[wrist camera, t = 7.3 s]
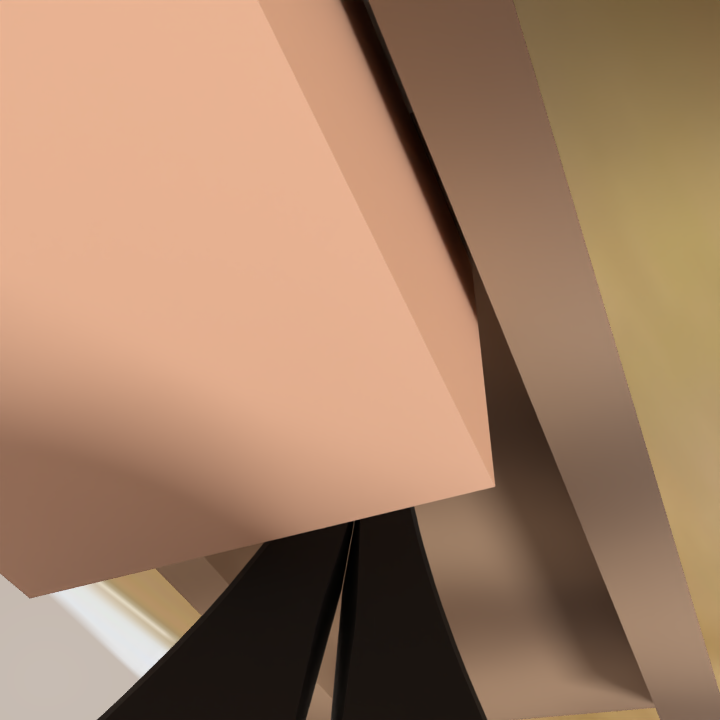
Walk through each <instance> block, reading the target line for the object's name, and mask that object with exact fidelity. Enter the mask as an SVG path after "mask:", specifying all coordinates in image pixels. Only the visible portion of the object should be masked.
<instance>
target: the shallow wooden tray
mask: <svg viewBox="0 0 720 720" xmlns="http://www.w3.org/2000/svg"><path fill="white" fill-rule="evenodd" d="M363 2H364V4H365V7H366V9H367V12H368V14H369V17H370V19H371V21H372V24H373V26H374V29H375V31H376V34H377V36H378V38H379V41H380V43H381V46H382V48H383V51H384V53H385V56H386V58H387V60H388V63H389V65H390V68H391V70H392V73H393V75H394V78H395V80H396V82H397V85H398V87H399V90H400V92H401V95H402V97H403V99H404V102H405V104H406V107H407V109H408V112H409V114H410V117H411V119H412V121H413V124H414V126H415V129H416V131H417V134H418V136H419V138H420V141H421V143H422V146H423V148H424V151H425V153H426V156H427V158H428V160H429V163H430V165H431V168H432V170H433V173H434V175H435V177H436V180H437V182H438V185H439V187H440V190H441V192H442V195H443V197H444V199H445V202H446V204H447V207H448V209H449V212H450V214H451V217H452V219H453V221H454V224H455V226H456V229H457V231H458V234H459V236H460V238H461V241H462V243H463V246H464V248H465V251H466V253H467V256H468V258H469V260H470V263H471V265H472V273H473V282H474V292H475V301H476V310H477V320H478V329H479V339H480V348H481V357H482V367H483V376H484V386H485V395H486V404H487V414H488V423H489V432H490V442H491V451H492V461H493V470H494V479H495V487H492V488H488V489H484V490H479V491H475V492H471V493H467V494H463V495H459V496H454V497H450V498H446V499H442V500H438V501H434V502H429V503H425V504H421V505H417V506H414V507H415V512H416V516H417V520H418V525H419V529H420V533H421V537H422V541H423V544H424V548H425V551H426V555H427V558H428V561H429V565H430V568H431V571H432V575H433V578H434V582H435V585H436V588H437V591H438V594H439V597H440V600H441V603H442V606H443V609H444V612H445V614H446V617H447V620H448V623H449V625H450V628H451V631H452V634H453V637H454V639H455V642H456V645H457V647H458V650H459V652H460V655H461V658H462V660H463V663H464V665H465V668H466V670H467V673H468V675H469V678H470V680H471V682H472V685H473V687H474V689H475V692H476V694H477V696H478V699H479V701H480V703H481V706H482V708H483V710H484V713H485V715H486V717H487V720H519V719H530V718H542V717H553V716H564V715H576V714H587V713H599V712H610V711H622V710H633V709H644V708H656V710H657V713H658V715H659V718H660V720H720V693H719V689H718V686H717V683H716V679H715V676H714V673H713V669H712V666H711V662H710V659H709V656H708V652H707V649H706V646H705V642H704V639H703V636H702V632H701V629H700V626H699V622H698V619H697V616H696V612H695V609H694V606H693V602H692V599H691V595H690V592H689V589H688V585H687V582H686V579H685V575H684V572H683V569H682V565H681V562H680V559H679V555H678V552H677V549H676V545H675V542H674V538H673V535H672V532H671V528H670V525H669V522H668V518H667V515H666V512H665V508H664V505H663V502H662V498H661V495H660V492H659V488H658V485H657V482H656V478H655V475H654V471H653V468H652V465H651V461H650V458H649V455H648V451H647V448H646V445H645V441H644V438H643V435H642V431H641V428H640V425H639V421H638V418H637V414H636V411H635V408H634V404H633V401H632V398H631V394H630V391H629V388H628V384H627V381H626V378H625V374H624V371H623V368H622V364H621V361H620V358H619V354H618V351H617V347H616V344H615V341H614V337H613V334H612V331H611V327H610V324H609V321H608V317H607V314H606V311H605V307H604V304H603V301H602V297H601V294H600V291H599V287H598V284H597V280H596V277H595V274H594V270H593V267H592V264H591V260H590V257H589V254H588V250H587V247H586V244H585V240H584V237H583V234H582V230H581V227H580V223H579V220H578V217H577V213H576V210H575V207H574V203H573V200H572V197H571V193H570V190H569V187H568V183H567V180H566V177H565V173H564V170H563V167H562V163H561V160H560V156H559V153H558V150H557V146H556V143H555V140H554V136H553V133H552V130H551V126H550V123H549V120H548V116H547V113H546V110H545V106H544V103H543V99H542V96H541V93H540V89H539V86H538V83H537V79H536V76H535V73H534V69H533V66H532V63H531V59H530V56H529V53H528V49H527V46H526V43H525V39H524V36H523V32H522V29H521V26H520V22H519V19H518V16H517V12H516V9H515V6H514V2H513V0H363ZM354 521H355V520H354ZM353 527H354V526H353ZM352 532H353V531H352ZM351 538H352V537H351ZM263 543H264V542H263ZM263 543H259V544H254V545H250V546H246V547H242V548H238V549H234V550H229V551H225V552H221V553H217V554H213V555H209V556H204V557H200V558H196V559H192V560H188V561H184V562H179V563H175V564H171V565H167V566H163V567H159V568H156V569H157V570H158V572H159V573H160V574H161V575H162V576H163V577H164V578H165V579H166V580H167V581H168V582H169V583H170V584H171V585H172V586H173V587H174V588H175V589H176V590H177V591H178V592H179V593H180V594H181V595H182V596H183V597H184V598H185V599H186V600H187V601H188V602H189V603H190V604H191V605H192V606H193V607H194V608H195V609H196V610H197V611H198V612H199V613H200V614H201V615H203V614H204V613H205V612H206V611H207V610H208V609H209V607H210V606H211V605H212V604H213V603H214V602H215V601H216V600H217V598H218V597H219V596H220V595H221V594H222V593H223V592H224V591H225V589H226V588H227V587H228V586H229V585H230V583H231V582H232V581H233V580H234V579H235V577H236V576H237V575H238V574H239V573H240V571H241V570H242V569H243V568H244V566H245V565H246V564H247V563H248V562H249V560H250V559H251V558H252V557H253V555H254V554H255V553H256V552H257V551H258V549H259V548H260V547H261V546H262V544H263ZM350 544H351V542H350ZM349 549H350V548H349ZM348 555H349V553H348ZM347 560H348V559H347ZM346 566H347V564H346ZM345 571H346V570H345ZM344 577H345V575H344ZM343 582H344V581H343ZM342 588H343V586H342ZM341 599H342V591H341V594H340V598H339V602H338V605H337V609H336V613H335V616H334V620H333V624H332V627H331V631H330V634H329V638H328V642H327V645H326V649H325V653H324V656H323V660H322V664H321V667H320V671H319V674H318V678H317V682H316V685H315V689H314V693H313V696H312V700H311V704H310V707H309V711H308V714H307V718H306V720H331V711H332V700H333V688H334V677H335V666H336V655H337V643H338V632H339V621H340V610H341Z"/></svg>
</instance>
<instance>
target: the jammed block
mask: <svg viewBox="0 0 720 720" xmlns="http://www.w3.org/2000/svg"><path fill="white" fill-rule="evenodd" d="M492 487H495V479H494V470H493V461H492V451H491V442H490V432H489V423H488V414H487V404H486V395H485V386H484V376H483V367H482V357H481V348H480V339H479V329H478V320H477V310H476V301H475V292H474V282H473V273H472V265H471V263H470V260H469V258H468V256H467V253H466V251H465V248H464V246H463V243H462V241H461V238H460V236H459V234H458V231H457V229H456V226H455V224H454V221H453V219H452V217H451V214H450V212H449V209H448V207H447V204H446V202H445V199H444V197H443V195H442V192H441V190H440V187H439V185H438V182H437V180H436V177H435V175H434V173H433V170H432V168H431V165H430V163H429V160H428V158H427V156H426V153H425V151H424V148H423V146H422V143H421V141H420V138H419V136H418V134H417V131H416V129H415V126H414V124H413V121H412V119H411V117H410V114H409V112H408V109H407V107H406V104H405V102H404V99H403V97H402V95H401V92H400V90H399V87H398V85H397V82H396V80H395V78H394V75H393V73H392V70H391V68H390V65H389V63H388V60H387V58H386V56H385V53H384V51H383V48H382V46H381V43H380V41H379V38H378V36H377V34H376V31H375V29H374V26H373V24H372V21H371V19H370V17H369V14H368V12H367V9H366V7H365V4H364V2H363V0H0V574H1V575H3V576H4V577H5V578H6V579H7V580H8V581H10V582H11V583H12V584H13V585H15V586H16V587H17V588H18V589H19V590H20V591H22V592H23V593H24V594H25V595H26V596H28V597H29V598H34V597H37V596H42V595H46V594H50V593H54V592H59V591H63V590H67V589H71V588H75V587H79V586H84V585H88V584H92V583H96V582H100V581H104V580H109V579H113V578H117V577H121V576H125V575H129V574H134V573H138V572H142V571H146V570H150V569H154V568H159V567H163V566H167V565H171V564H175V563H179V562H184V561H188V560H192V559H196V558H200V557H204V556H209V555H213V554H217V553H221V552H225V551H229V550H234V549H238V548H242V547H246V546H250V545H254V544H259V543H263V542H267V541H271V540H275V539H279V538H284V537H288V536H292V535H296V534H300V533H304V532H309V531H313V530H317V529H321V528H325V527H329V526H334V525H338V524H342V523H346V522H350V521H354V520H359V519H363V518H367V517H371V516H375V515H379V514H384V513H388V512H392V511H396V510H400V509H404V508H409V507H413V506H417V505H421V504H425V503H429V502H434V501H438V500H442V499H446V498H450V497H454V496H459V495H463V494H467V493H471V492H475V491H479V490H484V489H488V488H492Z"/></svg>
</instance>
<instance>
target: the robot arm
mask: <svg viewBox="0 0 720 720" xmlns="http://www.w3.org/2000/svg"><path fill="white" fill-rule="evenodd" d="M353 526H354V527H353ZM352 531H353V532H352ZM351 537H352V538H351ZM350 542H351V544H350ZM349 548H350V549H349ZM348 553H349V555H348ZM347 559H348V560H347ZM346 564H347V566H346ZM345 570H346V571H345ZM344 575H345V577H344ZM343 581H344V582H343ZM342 586H343V588H342ZM341 591H342V599H341V610H340V621H339V632H338V643H337V655H336V666H335V677H334V688H333V700H332V711H331V720H487V717H486V715H485V713H484V710H483V708H482V706H481V703H480V701H479V699H478V696H477V694H476V692H475V689H474V687H473V685H472V682H471V680H470V678H469V675H468V673H467V670H466V668H465V665H464V663H463V660H462V658H461V655H460V652H459V650H458V647H457V645H456V642H455V639H454V637H453V634H452V631H451V628H450V625H449V623H448V620H447V617H446V614H445V612H444V609H443V606H442V603H441V600H440V597H439V594H438V591H437V588H436V585H435V582H434V578H433V575H432V571H431V568H430V565H429V561H428V558H427V555H426V551H425V548H424V544H423V541H422V537H421V533H420V529H419V525H418V520H417V516H416V512H415V507H414V506H413V507H409V508H404V509H400V510H396V511H392V512H388V513H384V514H379V515H375V516H371V517H367V518H363V519H359V520H355V521H350V522H346V523H342V524H338V525H334V526H329V527H325V528H321V529H317V530H313V531H309V532H304V533H300V534H296V535H292V536H288V537H284V538H279V539H275V540H271V541H267V542H264V543H263V544H262V546H261V547H260V548H259V549H258V551H257V552H256V553H255V554H254V555H253V557H252V558H251V559H250V560H249V562H248V563H247V564H246V565H245V566H244V568H243V569H242V570H241V571H240V573H239V574H238V575H237V576H236V577H235V579H234V580H233V581H232V582H231V583H230V585H229V586H228V587H227V588H226V589H225V591H224V592H223V593H222V594H221V595H220V596H219V597H218V598H217V600H216V601H215V602H214V603H213V604H212V605H211V606H210V607H209V609H208V610H207V611H206V612H205V613H204V614H203V615H202V616H201V617H200V618H199V620H198V621H197V622H196V623H195V624H194V625H193V626H192V627H191V628H190V629H189V630H188V631H187V632H186V633H185V634H184V635H183V636H182V637H181V639H180V640H179V641H178V642H177V643H176V644H175V645H174V646H173V647H172V648H171V649H170V650H169V651H168V652H167V653H166V654H165V655H164V656H163V657H162V658H161V659H160V660H159V661H158V662H157V663H156V664H155V665H154V666H153V667H152V668H151V669H150V670H149V671H148V672H147V673H146V674H145V675H144V676H143V677H142V678H140V679H139V680H138V681H137V682H136V683H135V684H134V685H133V687H131V688H130V689H129V690H128V691H127V692H126V693H125V694H124V695H123V696H122V697H121V698H120V699H119V700H118V701H117V702H116V703H115V704H114V705H113V706H111V707H110V708H109V709H108V710H107V711H106V712H105V713H104V714H103V715H102V716H101V717H99V718H98V719H97V720H306V718H307V714H308V711H309V707H310V704H311V700H312V696H313V693H314V689H315V685H316V682H317V678H318V674H319V671H320V667H321V664H322V660H323V656H324V653H325V649H326V645H327V642H328V638H329V634H330V631H331V627H332V624H333V620H334V616H335V613H336V609H337V605H338V602H339V598H340V594H341Z"/></svg>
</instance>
